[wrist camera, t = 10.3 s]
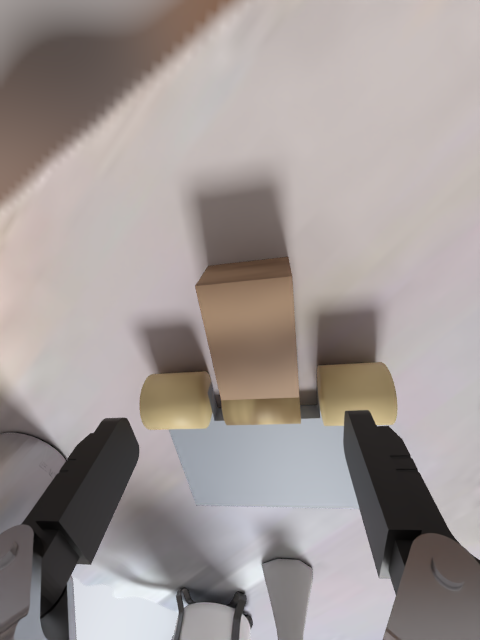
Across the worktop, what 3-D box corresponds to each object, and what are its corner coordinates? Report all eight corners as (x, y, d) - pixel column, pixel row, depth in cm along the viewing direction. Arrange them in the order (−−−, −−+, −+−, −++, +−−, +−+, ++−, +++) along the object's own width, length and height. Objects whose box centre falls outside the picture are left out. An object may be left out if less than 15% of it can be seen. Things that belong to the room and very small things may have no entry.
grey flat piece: (362, 494, 30) (376, 542, 26) (199, 491, 32) (189, 535, 28) (377, 350, 21) (400, 390, 17) (155, 363, 24) (133, 400, 20)
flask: (320, 578, 40) (335, 694, 31) (273, 582, 42) (274, 692, 33) (302, 553, 37) (312, 673, 28) (253, 559, 39) (248, 672, 30)
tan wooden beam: (296, 394, 24) (301, 436, 20) (234, 396, 25) (228, 438, 21) (288, 256, 19) (292, 278, 15) (208, 265, 20) (193, 288, 16)
